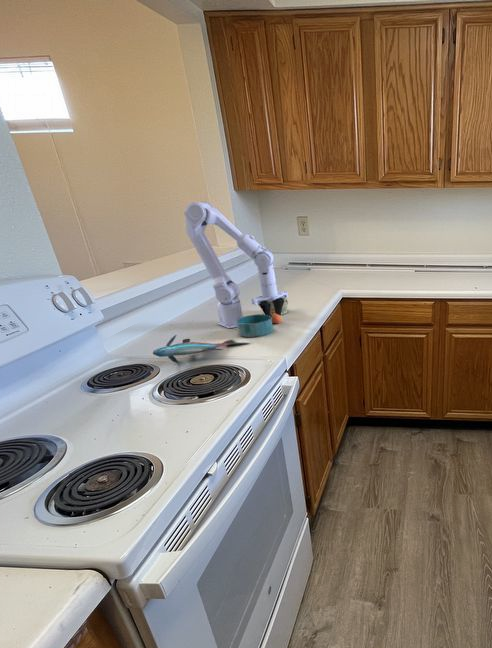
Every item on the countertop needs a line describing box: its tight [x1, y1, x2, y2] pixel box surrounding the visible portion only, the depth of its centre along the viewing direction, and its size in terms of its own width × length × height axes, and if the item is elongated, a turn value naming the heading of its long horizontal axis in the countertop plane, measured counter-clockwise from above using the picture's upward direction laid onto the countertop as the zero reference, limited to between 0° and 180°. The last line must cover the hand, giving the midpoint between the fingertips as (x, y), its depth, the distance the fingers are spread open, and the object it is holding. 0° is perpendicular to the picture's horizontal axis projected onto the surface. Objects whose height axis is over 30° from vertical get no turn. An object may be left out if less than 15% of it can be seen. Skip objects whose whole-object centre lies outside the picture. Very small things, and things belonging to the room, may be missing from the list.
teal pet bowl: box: [236, 313, 274, 338], centre depth 150 cm, size 12×12×5 cm
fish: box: [152, 334, 249, 364], centre depth 129 cm, size 30×8×15 cm
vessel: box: [267, 297, 289, 315], centre depth 173 cm, size 12×9×6 cm
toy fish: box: [271, 311, 283, 325], centre depth 161 cm, size 9×4×4 cm, turn 48°
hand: (273, 319), depth 161 cm, fingers closed on toy fish, 3 cm apart
